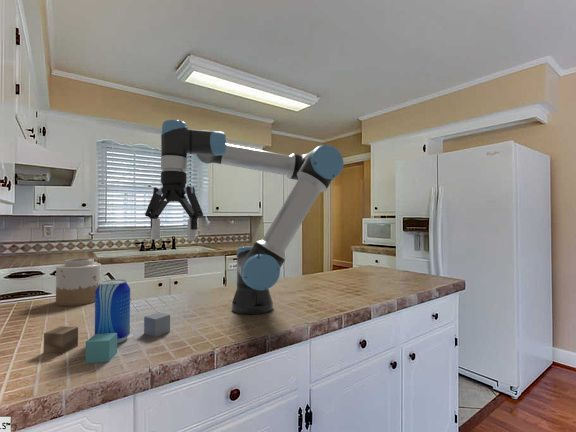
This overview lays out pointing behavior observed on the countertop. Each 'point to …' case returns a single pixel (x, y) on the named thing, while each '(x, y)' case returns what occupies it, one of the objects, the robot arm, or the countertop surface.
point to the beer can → (113, 308)
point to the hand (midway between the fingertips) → (173, 240)
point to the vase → (77, 281)
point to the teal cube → (101, 348)
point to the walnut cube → (60, 340)
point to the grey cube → (156, 324)
